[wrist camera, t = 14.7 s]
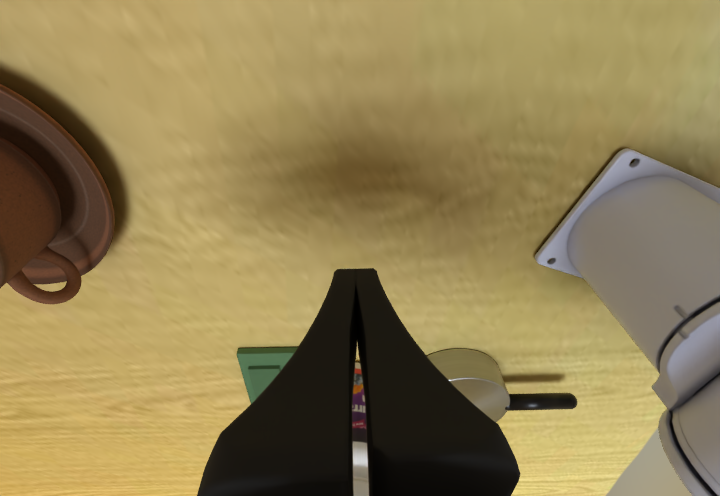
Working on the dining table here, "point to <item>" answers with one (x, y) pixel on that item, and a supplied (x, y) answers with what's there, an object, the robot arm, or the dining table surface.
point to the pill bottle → (359, 437)
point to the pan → (491, 384)
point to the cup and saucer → (47, 204)
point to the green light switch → (262, 367)
